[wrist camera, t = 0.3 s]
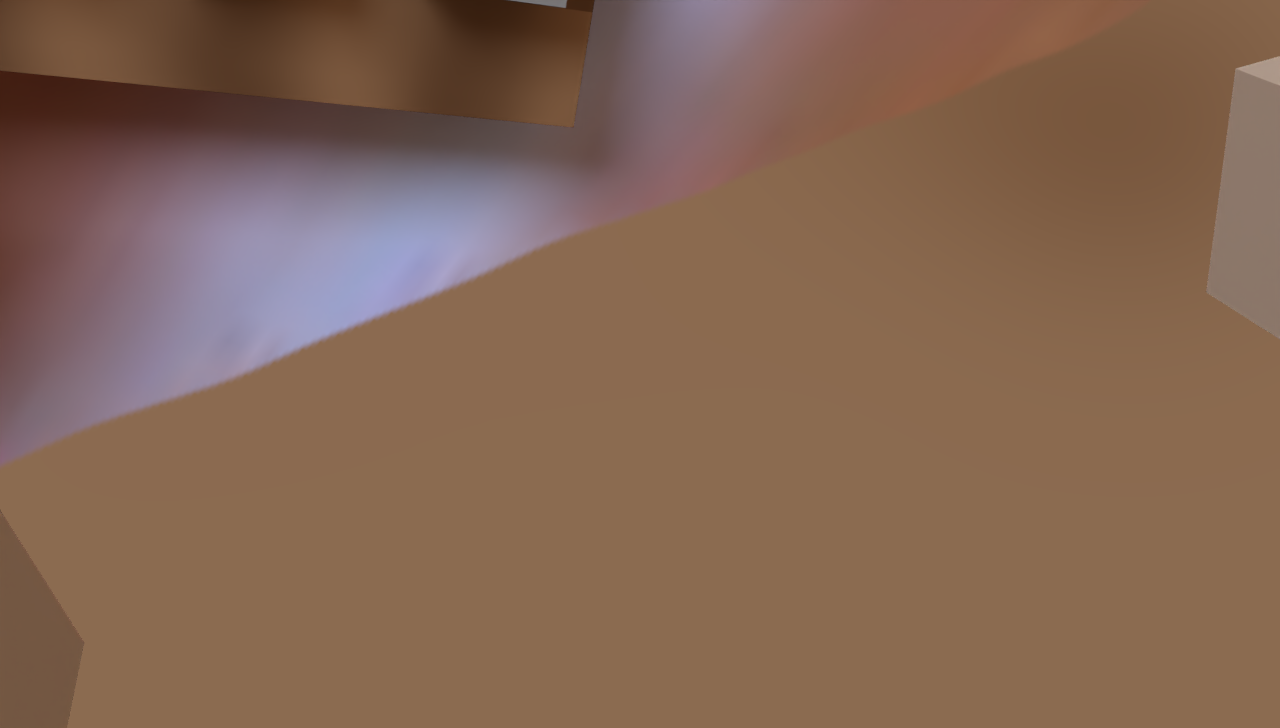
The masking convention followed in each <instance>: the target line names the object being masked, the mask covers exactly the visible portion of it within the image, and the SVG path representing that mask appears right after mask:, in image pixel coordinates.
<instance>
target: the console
mask: <svg viewBox="0 0 1280 728" xmlns="http://www.w3.org/2000/svg"><path fill="white" fill-rule="evenodd" d="M593 6H594V0H567V3H566V8H562V7H555V6H547V5H540V4H533V3H525V2H518V1H511V0H0V71H9V72H19V73H29V74H39V75H50V76H60V77H70V78H80V79H90V80H100V81H110V82H120V83H130V84H140V85H151V86H161V87H171V88H181V89H191V90H201V91H211V92H221V93H231V94H241V95H252V96H262V97H272V98H282V99H292V100H302V101H312V102H322V103H332V104H342V105H352V106H363V107H373V108H383V109H393V110H403V111H413V112H423V113H433V114H443V115H453V116H464V117H474V118H484V119H494V120H504V121H514V122H524V123H534V124H544V125H554V126H564V127H574V121H575V115H576V109H577V103H578V97H579V91H580V85H581V79H582V73H583V67H584V60H585V54H586V48H587V42H588V36H589V30H590V24H591V18H592V12H593Z"/></svg>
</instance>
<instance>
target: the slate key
mask: <svg viewBox="0 0 1280 728" xmlns="http://www.w3.org/2000/svg"><path fill="white" fill-rule="evenodd" d="M511 1H518V2H525V3H533V4H540V5H547V6H555V7H562V8H566V3H567V0H511Z"/></svg>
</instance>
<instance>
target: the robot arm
mask: <svg viewBox="0 0 1280 728" xmlns="http://www.w3.org/2000/svg"><path fill="white" fill-rule="evenodd" d="M1206 292H1207V293H1208V294H1210V295H1212V296H1213V297H1214V298H1216V299H1218V300H1219V301H1221V302H1222V303H1224V304H1225V305H1227V306H1229V307H1230V308H1232V309H1233V310H1235V311H1237V312H1238V313H1240V314H1241V315H1243V316H1244V317H1246V318H1248V319H1249V320H1251V321H1252V322H1254V323H1255V324H1257V325H1258V326H1260V327H1262V328H1263V329H1265V330H1266V331H1268V332H1269V333H1271V334H1273V335H1274V336H1276V337H1277V338H1279V339H1280V56H1279V57H1276V58H1272V59H1269V60H1265V61H1261V62H1258V63H1254V64H1251V65H1248V66H1244V67H1240V68H1237V69H1236V71H1235V78H1234V86H1233V93H1232V101H1231V109H1230V117H1229V124H1228V131H1227V139H1226V147H1225V154H1224V162H1223V169H1222V177H1221V185H1220V193H1219V200H1218V207H1217V216H1216V223H1215V230H1214V238H1213V246H1212V254H1211V261H1210V269H1209V276H1208V284H1207V291H1206ZM83 646H84V641H83V640H82V638H81V637H80V635H79V633H78V632H77V630H76V629H75V627H74V626H73V624H72V622H71V621H70V619H69V618H68V616H67V615H66V613H65V611H64V610H63V608H62V607H61V605H60V603H59V602H58V600H57V599H56V597H55V596H54V594H53V592H52V591H51V589H50V588H49V586H48V585H47V583H46V581H45V580H44V578H43V577H42V575H41V574H40V572H39V571H38V569H37V567H36V566H35V564H34V563H33V561H32V559H31V558H30V556H29V555H28V553H27V552H26V550H25V548H24V547H23V545H22V544H21V542H20V540H19V539H18V537H17V536H16V534H15V533H14V531H13V529H12V528H11V526H10V525H9V523H8V522H7V520H6V518H5V517H4V515H3V514H2V512H1V511H0V728H67V724H68V719H69V715H70V709H71V705H72V700H73V695H74V689H75V685H76V680H77V675H78V670H79V665H80V660H81V655H82V651H83Z"/></svg>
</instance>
